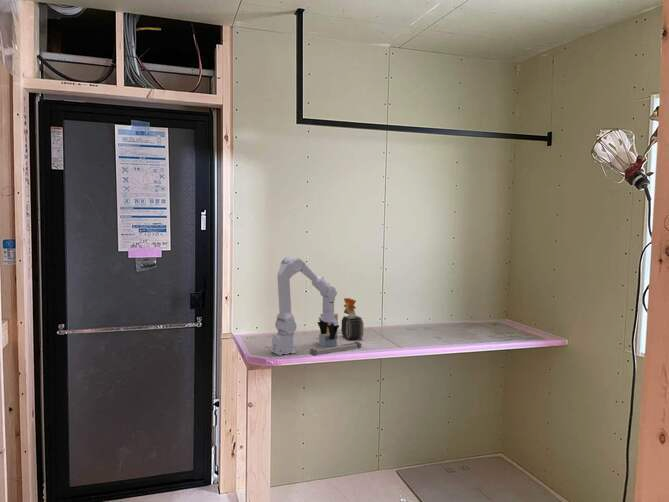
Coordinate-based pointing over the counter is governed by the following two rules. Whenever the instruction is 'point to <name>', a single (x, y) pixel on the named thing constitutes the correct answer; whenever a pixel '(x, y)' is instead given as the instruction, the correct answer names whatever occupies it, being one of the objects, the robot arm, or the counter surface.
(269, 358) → the counter surface
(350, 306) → the bomb
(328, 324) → the supplement box
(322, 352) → the rail
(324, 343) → the block
